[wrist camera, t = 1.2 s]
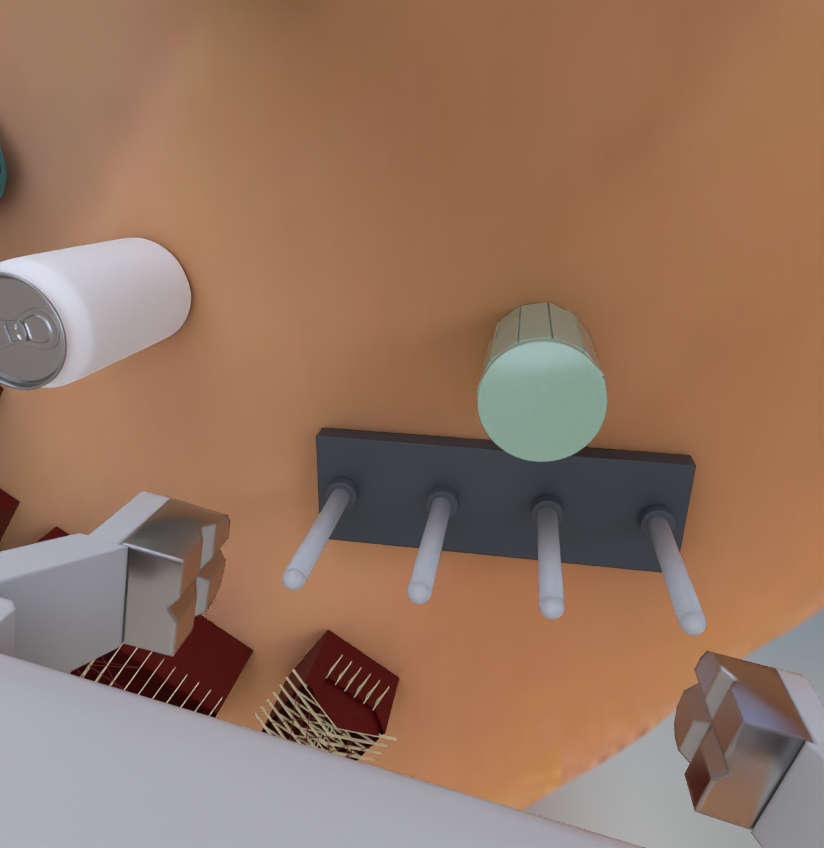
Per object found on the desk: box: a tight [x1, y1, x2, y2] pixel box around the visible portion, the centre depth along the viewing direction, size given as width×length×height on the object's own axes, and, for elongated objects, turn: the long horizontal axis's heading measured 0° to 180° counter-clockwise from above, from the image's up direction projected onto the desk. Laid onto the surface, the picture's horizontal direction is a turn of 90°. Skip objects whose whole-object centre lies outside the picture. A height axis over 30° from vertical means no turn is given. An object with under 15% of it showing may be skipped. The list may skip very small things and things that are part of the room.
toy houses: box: [0, 387, 399, 761], centre depth 46 cm, size 45×20×10 cm, turn 55°
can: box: [0, 238, 191, 390], centre depth 37 cm, size 6×6×12 cm
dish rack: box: [282, 428, 706, 635], centre depth 38 cm, size 23×8×12 cm, turn 89°
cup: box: [477, 302, 607, 462], centre depth 35 cm, size 6×6×9 cm
